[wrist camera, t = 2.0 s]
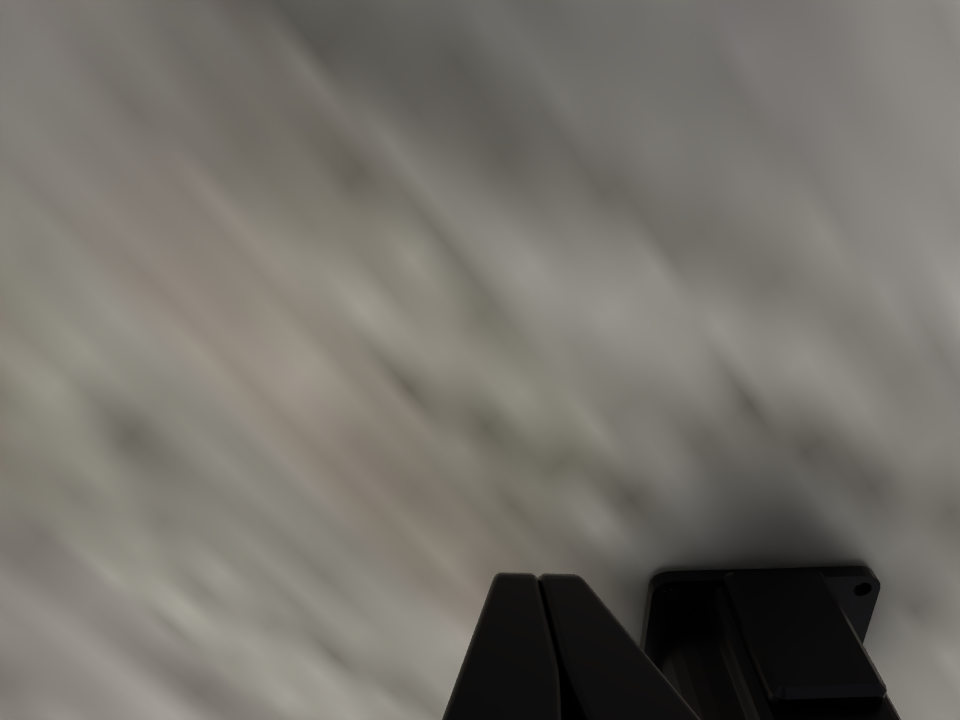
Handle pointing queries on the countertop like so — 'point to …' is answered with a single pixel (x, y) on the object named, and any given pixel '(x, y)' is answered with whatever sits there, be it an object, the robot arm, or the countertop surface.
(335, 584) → the countertop surface
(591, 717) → the robot arm
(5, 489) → the countertop surface
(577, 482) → the countertop surface
